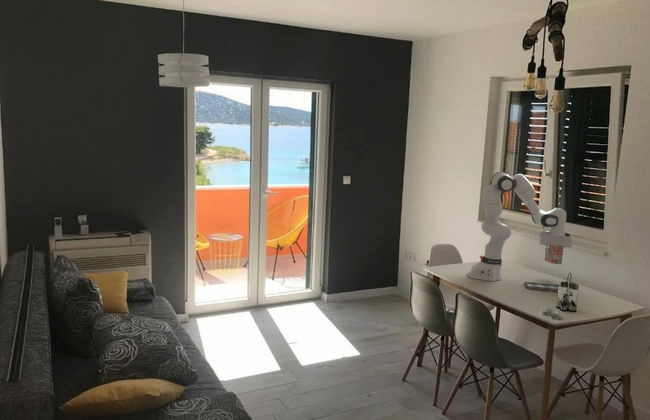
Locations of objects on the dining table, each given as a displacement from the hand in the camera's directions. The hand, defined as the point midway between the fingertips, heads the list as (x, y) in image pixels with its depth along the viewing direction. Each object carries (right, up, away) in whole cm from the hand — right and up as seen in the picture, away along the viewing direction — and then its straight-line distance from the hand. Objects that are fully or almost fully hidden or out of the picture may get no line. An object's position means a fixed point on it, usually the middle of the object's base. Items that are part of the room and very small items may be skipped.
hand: (554, 252), depth 365 cm
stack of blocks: (-1, -7, +1) cm, 7 cm away
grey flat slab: (-11, -23, -13) cm, 28 cm away
